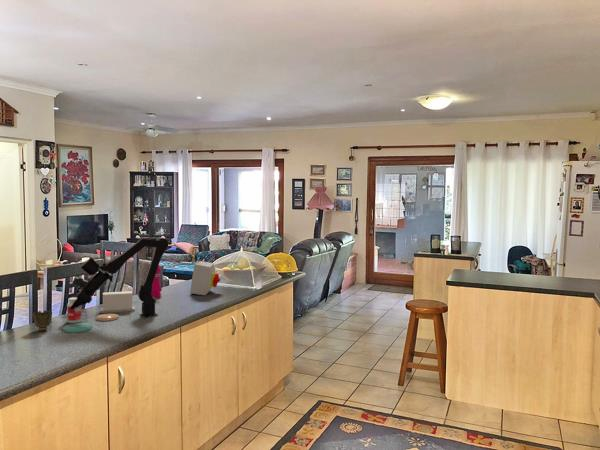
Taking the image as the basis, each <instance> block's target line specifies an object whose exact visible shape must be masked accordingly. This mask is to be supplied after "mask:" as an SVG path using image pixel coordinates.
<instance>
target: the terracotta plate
mask: <svg viewBox="0 0 600 450" xmlns="http://www.w3.org/2000/svg"><path fill="white" fill-rule="evenodd" d="M119 317H120V316H119V314H117V313H101V314H98V315H97V316H96V317H95V319H96V321H98V322H110V321H116V320H118V319H119Z"/></svg>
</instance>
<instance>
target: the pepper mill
mask: <svg viewBox="0 0 600 450" xmlns="http://www.w3.org/2000/svg"><path fill="white" fill-rule="evenodd" d="M161 270H162V269H161V266H160V265H159V266H158V269H157V272H156V275H155V278H154V281H153V284H152V294H151V295H152V296H153V297H154V299H155V298H156V299H157V298H161V297H162V293H161V292H162V291H163V288H162V284H161V282H160V276H161Z"/></svg>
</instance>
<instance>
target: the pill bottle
mask: <svg viewBox="0 0 600 450" xmlns="http://www.w3.org/2000/svg"><path fill="white" fill-rule="evenodd" d="M76 299H77V297H76V296H73V297H69V298H68V303H67V304H66V316H67V317H66V318H67V320H66V321H67V323H69V324H74V323H82V321H83V318H82V317H83V305H81V306H78V307H76V308H74V309H71V308H70V307H71V306H72V304H73V303H74V302H75V300H76Z"/></svg>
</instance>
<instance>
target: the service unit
mask: <svg viewBox="0 0 600 450" xmlns="http://www.w3.org/2000/svg"><path fill="white" fill-rule="evenodd" d="M135 310H136V309H135V305H133V291H131V290H130V291H110V292H109V291H108V292H102V307H100V314H110V313H123V312H135Z"/></svg>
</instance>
